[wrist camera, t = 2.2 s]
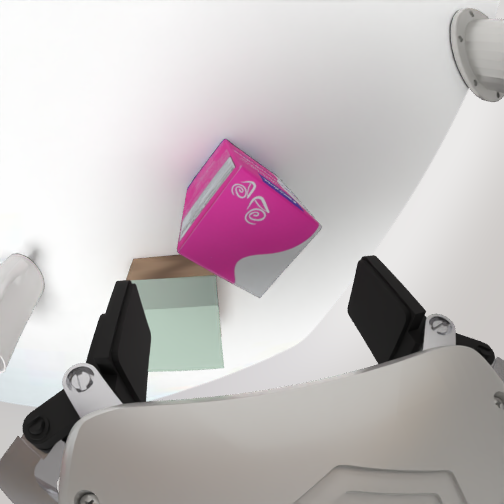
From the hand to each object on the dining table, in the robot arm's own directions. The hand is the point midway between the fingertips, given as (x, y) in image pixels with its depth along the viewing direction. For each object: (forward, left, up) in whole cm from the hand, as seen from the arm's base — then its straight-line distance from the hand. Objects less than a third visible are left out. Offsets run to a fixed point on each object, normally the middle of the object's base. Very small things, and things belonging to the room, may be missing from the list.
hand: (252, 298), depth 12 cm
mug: (+23, +7, -16) cm, 29 cm away
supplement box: (-1, 0, -16) cm, 16 cm away
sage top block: (+6, +11, -12) cm, 17 cm away
